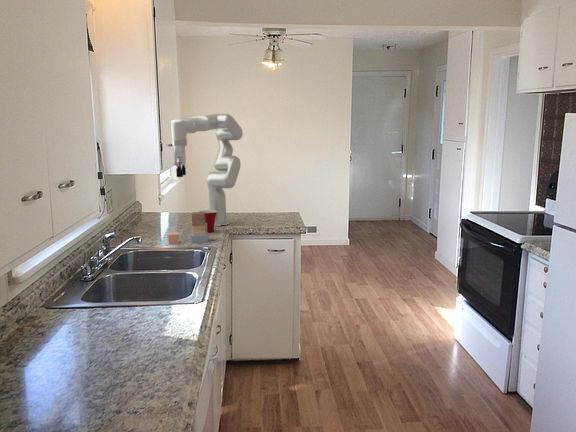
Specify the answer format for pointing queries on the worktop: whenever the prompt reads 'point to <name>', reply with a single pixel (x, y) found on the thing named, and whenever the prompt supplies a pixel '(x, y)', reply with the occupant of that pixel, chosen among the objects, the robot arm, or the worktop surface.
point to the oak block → (200, 230)
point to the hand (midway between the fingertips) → (181, 176)
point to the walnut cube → (198, 219)
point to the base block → (199, 238)
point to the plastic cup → (210, 219)
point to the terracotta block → (173, 238)
